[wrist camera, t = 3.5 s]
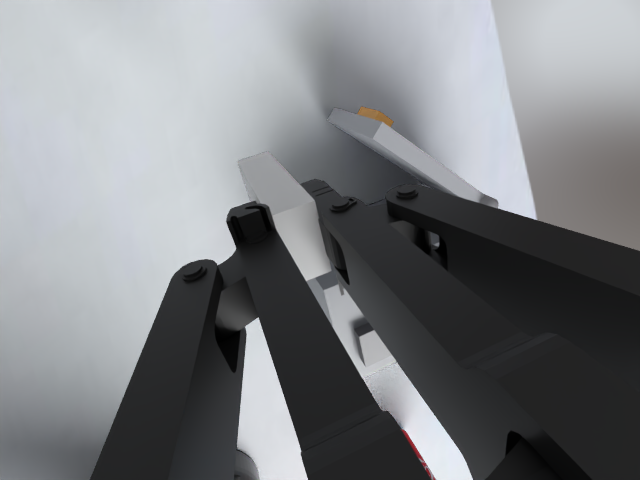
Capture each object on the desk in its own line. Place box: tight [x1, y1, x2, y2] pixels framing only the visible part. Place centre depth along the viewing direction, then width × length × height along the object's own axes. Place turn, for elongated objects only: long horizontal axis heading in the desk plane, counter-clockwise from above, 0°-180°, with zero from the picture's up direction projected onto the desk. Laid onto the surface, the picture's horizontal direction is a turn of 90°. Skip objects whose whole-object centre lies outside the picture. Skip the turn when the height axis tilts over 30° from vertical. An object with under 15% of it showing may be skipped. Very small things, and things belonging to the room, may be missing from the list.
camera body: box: [306, 199, 439, 379], centre depth 28 cm, size 14×9×9 cm, turn 103°
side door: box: [327, 107, 498, 208], centre depth 25 cm, size 11×2×8 cm, turn 58°
